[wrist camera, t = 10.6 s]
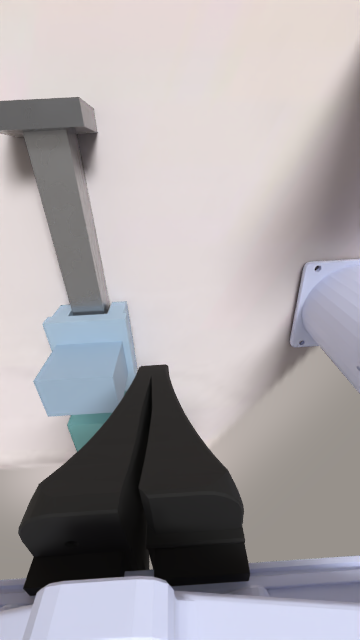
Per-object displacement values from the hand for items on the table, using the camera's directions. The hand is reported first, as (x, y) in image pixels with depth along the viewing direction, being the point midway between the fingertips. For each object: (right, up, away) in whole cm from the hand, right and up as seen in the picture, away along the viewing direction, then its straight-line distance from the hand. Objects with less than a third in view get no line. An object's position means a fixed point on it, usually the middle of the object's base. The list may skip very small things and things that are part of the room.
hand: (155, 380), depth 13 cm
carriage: (-6, +2, +11) cm, 12 cm away
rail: (-6, +6, +8) cm, 12 cm away
